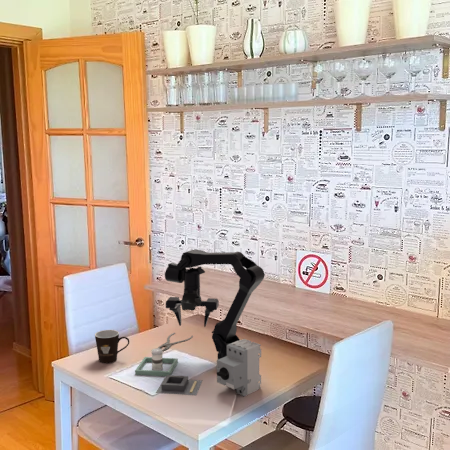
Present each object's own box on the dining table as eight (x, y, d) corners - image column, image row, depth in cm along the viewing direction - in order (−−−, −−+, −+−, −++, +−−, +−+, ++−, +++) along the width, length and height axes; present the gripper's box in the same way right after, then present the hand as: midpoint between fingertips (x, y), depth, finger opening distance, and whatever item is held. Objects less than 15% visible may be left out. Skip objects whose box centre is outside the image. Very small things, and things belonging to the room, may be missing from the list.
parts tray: (177, 365, 205) (177, 358, 205) (169, 379, 193) (169, 372, 193) (145, 363, 207) (144, 356, 206) (135, 377, 195) (135, 370, 195)
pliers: (194, 333, 236) (179, 351, 217) (194, 335, 236) (179, 353, 217) (171, 332, 238) (155, 349, 219) (171, 334, 238) (155, 351, 219)
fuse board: (202, 383, 190) (202, 374, 190) (196, 398, 180) (196, 389, 179) (164, 381, 192) (164, 372, 192) (155, 395, 181) (155, 386, 181)
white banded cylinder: (164, 367, 201) (163, 348, 200) (161, 372, 198) (160, 352, 197) (153, 367, 202) (153, 348, 201) (150, 371, 198) (150, 352, 197)
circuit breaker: (213, 395, 182) (212, 350, 179) (244, 381, 191) (244, 338, 189) (230, 403, 176) (229, 356, 174) (261, 388, 186) (261, 344, 184)
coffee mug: (91, 362, 208) (89, 335, 207) (105, 354, 216) (104, 328, 214) (117, 367, 203) (116, 340, 202) (131, 358, 211) (130, 332, 209)
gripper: (161, 289, 201) (162, 332, 204) (213, 291, 199) (214, 334, 201) (168, 281, 212) (169, 322, 215) (218, 283, 210) (219, 324, 212)
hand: (192, 326), depth 210 cm, fingers open, 9 cm apart
